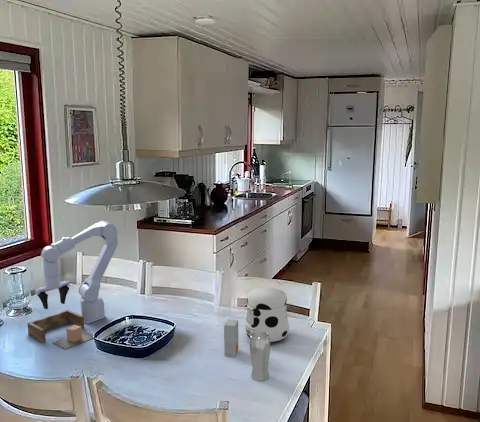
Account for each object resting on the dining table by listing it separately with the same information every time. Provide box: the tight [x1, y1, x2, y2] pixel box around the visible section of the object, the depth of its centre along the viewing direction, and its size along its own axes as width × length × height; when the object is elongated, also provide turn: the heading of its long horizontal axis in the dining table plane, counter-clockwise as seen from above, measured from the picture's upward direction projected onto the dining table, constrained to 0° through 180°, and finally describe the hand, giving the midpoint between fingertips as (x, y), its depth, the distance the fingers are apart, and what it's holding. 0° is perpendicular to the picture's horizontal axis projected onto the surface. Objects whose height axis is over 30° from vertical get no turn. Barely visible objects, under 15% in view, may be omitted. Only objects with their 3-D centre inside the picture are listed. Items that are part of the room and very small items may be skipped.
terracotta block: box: [65, 324, 83, 342], centre depth 194 cm, size 4×4×5 cm
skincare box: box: [223, 318, 239, 358], centre depth 181 cm, size 6×4×12 cm
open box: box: [26, 309, 94, 350], centre depth 199 cm, size 18×24×5 cm
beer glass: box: [249, 331, 271, 382], centre depth 163 cm, size 7×7×15 cm
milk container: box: [244, 287, 290, 344], centre depth 193 cm, size 17×17×18 cm
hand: (54, 306), depth 206 cm, fingers open, 7 cm apart
